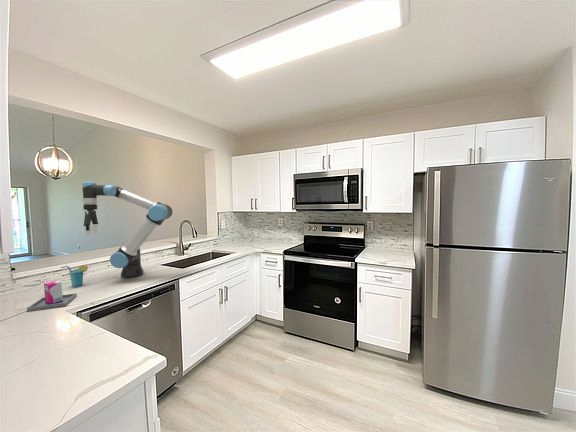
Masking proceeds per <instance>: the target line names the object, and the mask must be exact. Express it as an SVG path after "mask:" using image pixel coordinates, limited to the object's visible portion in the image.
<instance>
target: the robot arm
mask: <svg viewBox="0 0 576 432" xmlns="http://www.w3.org/2000/svg"><path fill="white" fill-rule="evenodd" d="M81 185H82V187H81V188H82V200H81V201H82V202H83V207H82V208H83V210H85V211H84V222H83V227H84V228H85V229H84V230H85V236H92V234H98V225H99V221H98V217H97V211H96V210H98V205H97V204H98V197H99V196H103V197H108V196H109V197H116V198H118V199H119V200H123V201H126V202H128V203H131V204H133V205H135V206H138V207H141V208H143V209H146V210H148V211H147V214H146V215H145V220H144V221H143V222H142V223H141V225H140V226H139V228H138V229H136V231H135V232H134V233H133V235H132V236H131V237H130V239H128V241H127V242H126V243H125V244H124V245H121V246H120V247H119V248H118V249H117V251H115V252H114V253H112V254H111V255H110V257H109V263H110V264H111V266H112V267H114V268H116V269H121V272H120V278H122V279H132V278H134V279H135V278H137V277H141V276H143V275H144V274H145V273H144V268H143V266H142V264H141V263H142V262H141V246H142V245H143V244H144V243H145V242H146V241H147V239H149V236H150V235H151V234H152V233H153V231H155V229H156V228H157V227H159V226H162V224H163V223H164V221H165V220H167V219H170V218H171V217H172V216H173V209H172V207H171V206H170V205H168V204H166V203H162V202H159V201H153V200H152V199H148V198H146V197H144V196H141V195H139V194H137V193H134V192H131V191H129V190H127V189H124V188H122V187H121V186H117V185H113V184H97V183H96V182H95V181H83V182H82V184H81ZM91 223H92V225H91ZM91 227H92V228H91ZM91 230H92V231H91Z"/></svg>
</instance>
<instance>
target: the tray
mask: <svg viewBox="0 0 576 432" xmlns="http://www.w3.org/2000/svg"><path fill="white" fill-rule="evenodd" d="M77 295H78V294H77V293H75V292H74V293H68V294H62V297H63V301H62V302H58V303H55V304H50V305H49V304H46V303H45V296H43V297H41V298H40V299H38V300H36V301H35V302H33V303H32V304H31V305H29V306H28V307H26V313H29V312H35V311H42V310H49V309H50V310H52V309H56V308H64V307H67V306H68V305H69V304H70V303H71V302H73V300H75V299H76V298H77Z"/></svg>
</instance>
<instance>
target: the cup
mask: <svg viewBox="0 0 576 432" xmlns="http://www.w3.org/2000/svg"><path fill="white" fill-rule="evenodd" d="M64 268H65V269H66V268H67V269H68V274H69V277H70V278H69V279H70V281H71V282H70V283H71V287H72V288H73V287H74V288H79V286H80V287H82V286H83V283H84V273H85V272H87V271H88V269H89V268H88V266H87V265H85V264H82V265H80V266H79V267H78V269H75V270H72V269H71V267H70V266H68V265H65V266H61V267H60V269H64Z"/></svg>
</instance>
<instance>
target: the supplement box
mask: <svg viewBox="0 0 576 432" xmlns="http://www.w3.org/2000/svg"><path fill="white" fill-rule="evenodd" d="M43 292H44V297H45V303H46V304H49V305H50V304H55V303H58V302H62V301H63V297H62V295H63V285H62V281H60V280H53V281H49V282H45V283H43Z"/></svg>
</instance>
